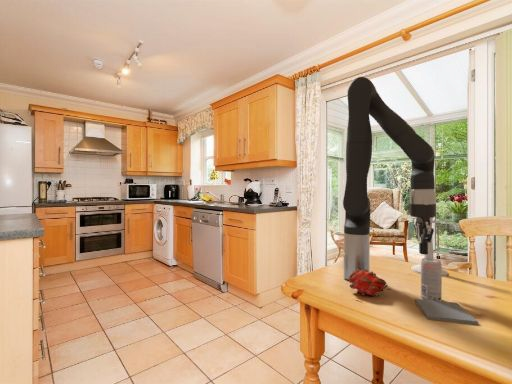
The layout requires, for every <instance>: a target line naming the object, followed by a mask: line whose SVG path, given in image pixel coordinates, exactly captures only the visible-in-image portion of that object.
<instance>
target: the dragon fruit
mask: <svg viewBox="0 0 512 384" xmlns="http://www.w3.org/2000/svg"><path fill="white" fill-rule="evenodd" d="M349 277H350V278H349V279H347V280H348V282H349V283H350V284H349V287H350V288H351V289H352V290H354V289H356V290H357V293H358V294H361V295H362V296H365V295H367V296H372V297H380V294H377V293H381V292H384V289H386V287H388V286H389V285H388V283H387V282H386V280H385V279H383V278H380V277H378V276H377V274H376V273H374V271H373V270H371V271H370V272H368V270H365V271H364V269H363V270H362V271H361V270H359V269H357V271H353V274H351V275H350V276H349Z"/></svg>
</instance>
